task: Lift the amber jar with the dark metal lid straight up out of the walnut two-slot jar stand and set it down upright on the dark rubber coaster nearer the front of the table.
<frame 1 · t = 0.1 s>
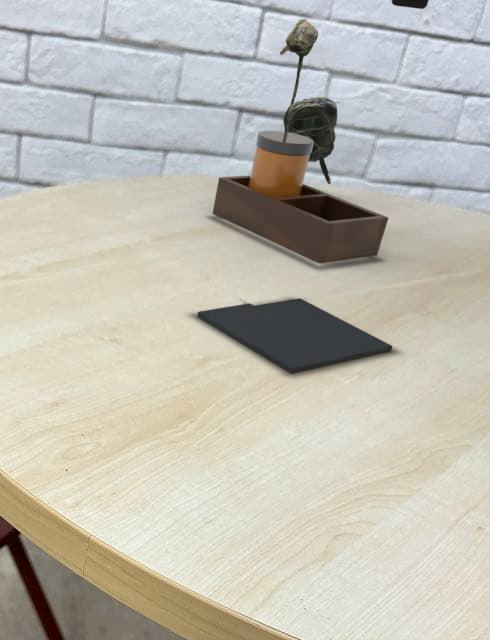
hand: (394, 2, 82), 23 cm above the table, tool pointing down, fingers open, 9 cm apart
coaster: (292, 333, 74), on the table
jar: (267, 221, 99), point 1 cm above the table, touching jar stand
plant with pod: (282, 196, 113), on the table
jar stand: (290, 238, 97), on the table
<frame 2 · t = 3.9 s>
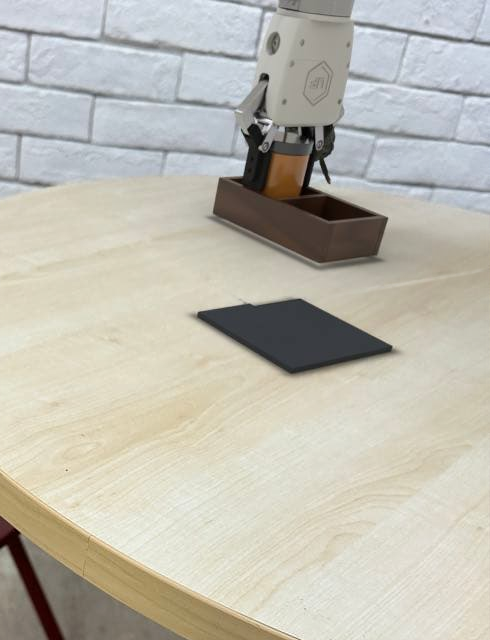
hand: (275, 184, 97), 5 cm above the table, tool pointing down, fingers closed on jar, 6 cm apart
jar: (267, 221, 99), point 1 cm above the table, touching gripper, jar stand
everything else where it was.
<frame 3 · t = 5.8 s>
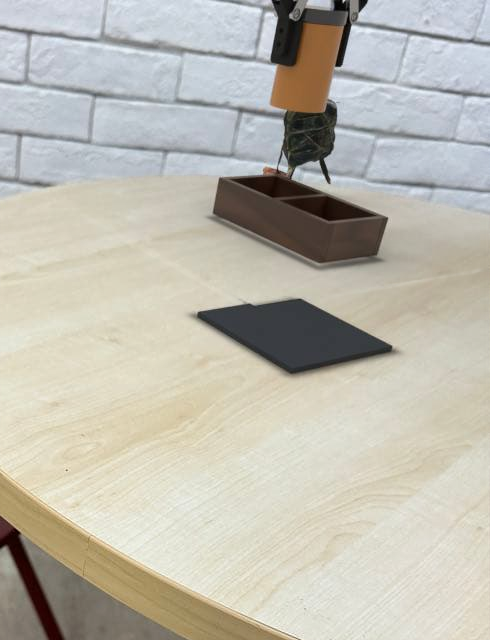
hand: (306, 63, 89), 17 cm above the table, tool pointing down, fingers closed on jar, 6 cm apart
jar: (296, 107, 92), point 13 cm above the table, touching gripper
everything else where it was.
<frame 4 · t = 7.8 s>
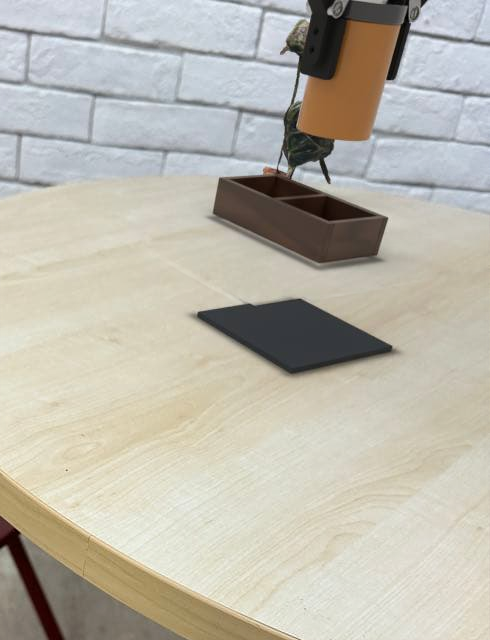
hand: (347, 74, 67), 19 cm above the table, tool pointing down, fingers closed on jar, 6 cm apart
jar: (332, 132, 69), point 15 cm above the table, touching gripper
everything else where it was.
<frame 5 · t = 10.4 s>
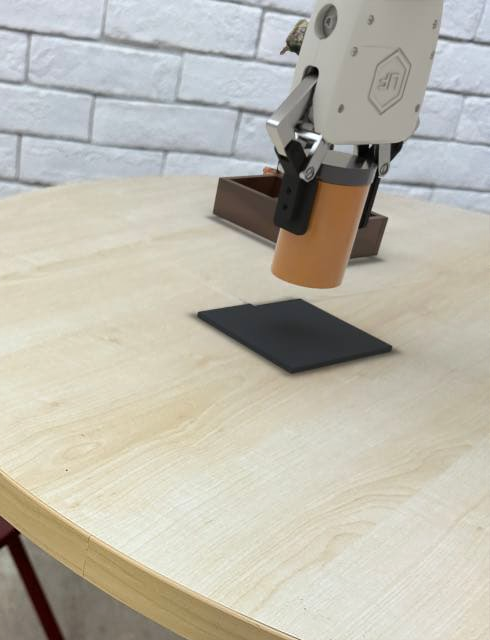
hand: (320, 224, 68), 9 cm above the table, tool pointing down, fingers closed on jar, 6 cm apart
jar: (305, 275, 71), point 5 cm above the table, touching gripper
everything else where it was.
when the fingers open (5 cm above the table, at t = 12.1 s): jar stays where it is, resting on coaster.
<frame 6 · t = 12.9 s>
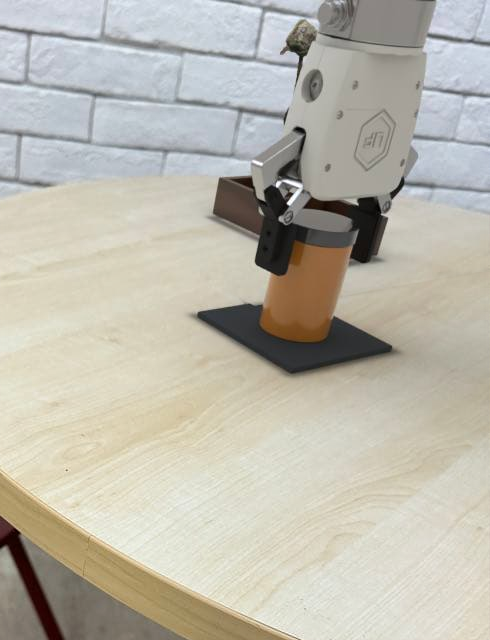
hand: (312, 263, 70), 6 cm above the table, tool pointing down, fingers open, 9 cm apart
jar: (293, 328, 74), resting on coaster
everything else where it was.
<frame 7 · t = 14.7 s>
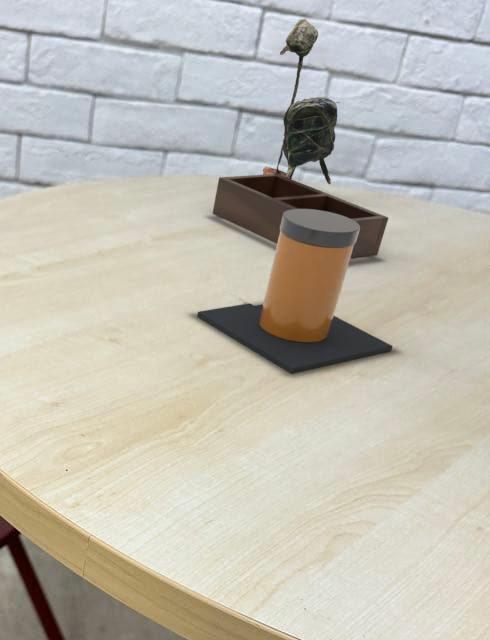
nothing on the table moved.
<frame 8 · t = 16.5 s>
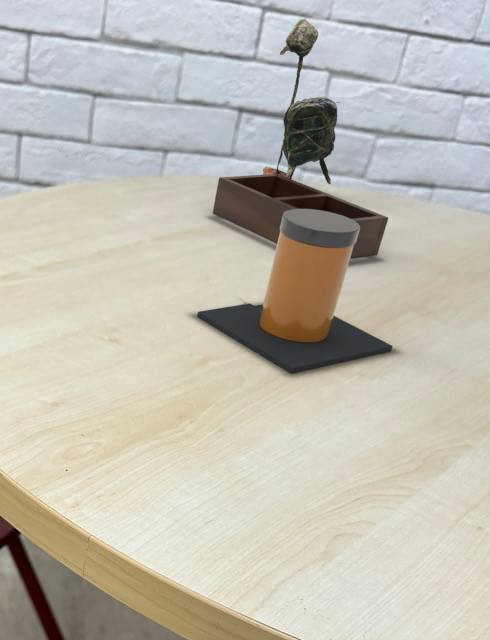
nothing on the table moved.
at the end: jar inside the target area on the coaster (0.1 cm from its centre), point 0.5 cm above the coaster's base; jar tilted 0°; the gripper is holding nothing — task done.
